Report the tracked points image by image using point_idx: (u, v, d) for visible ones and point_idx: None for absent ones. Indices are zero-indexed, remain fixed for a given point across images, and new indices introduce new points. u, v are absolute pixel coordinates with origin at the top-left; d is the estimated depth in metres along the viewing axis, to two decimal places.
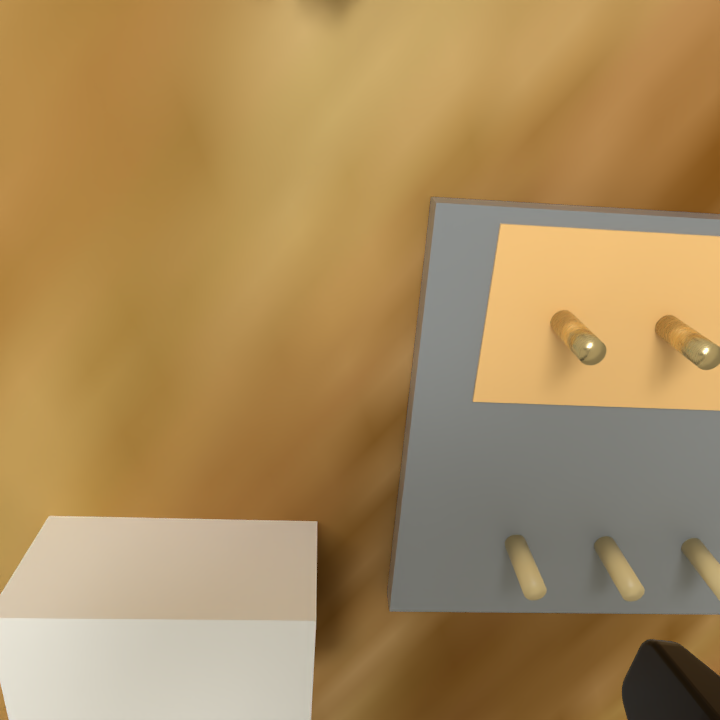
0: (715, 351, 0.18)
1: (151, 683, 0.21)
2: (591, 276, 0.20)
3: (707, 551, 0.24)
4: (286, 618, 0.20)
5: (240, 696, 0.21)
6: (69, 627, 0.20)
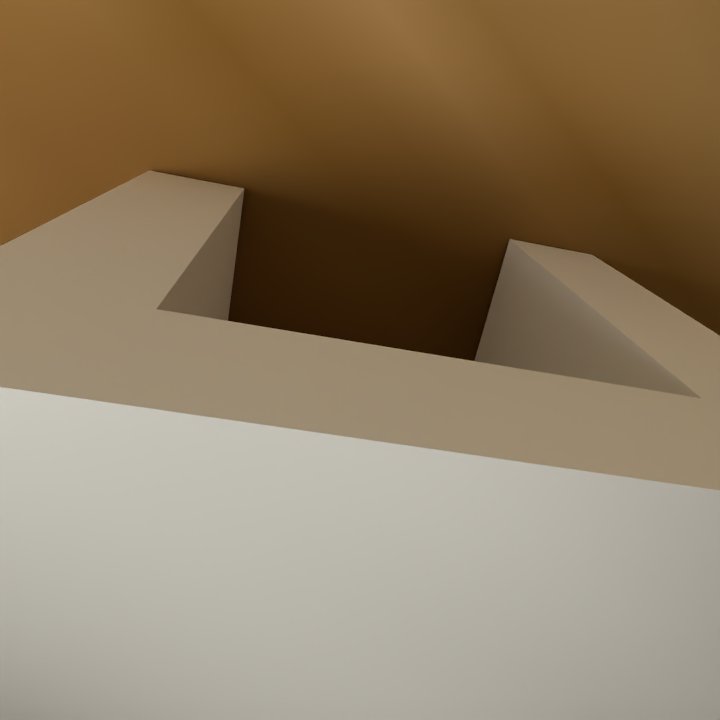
0: None
1: None
2: None
3: None
4: None
5: None
6: None
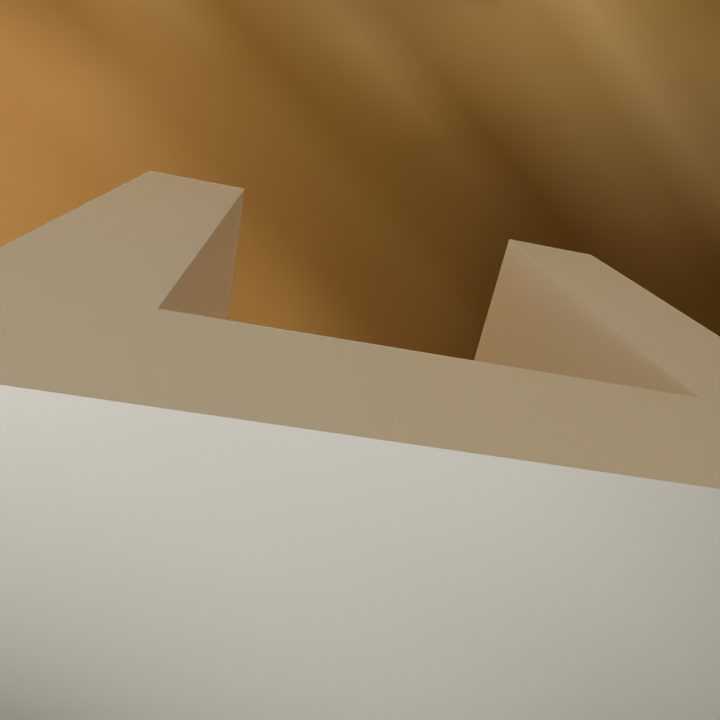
0: None
1: None
2: None
3: None
4: None
5: None
6: None
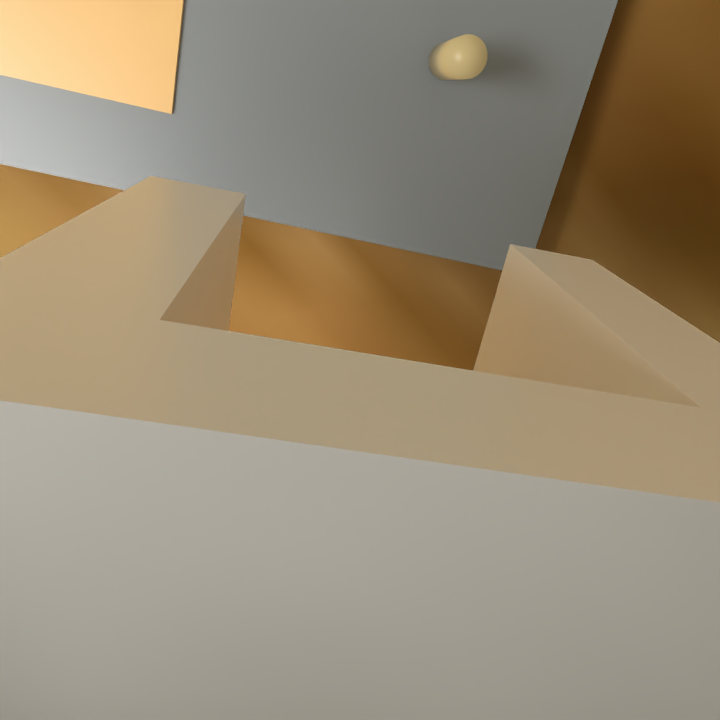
0: None
1: None
2: None
3: None
4: None
5: None
6: None
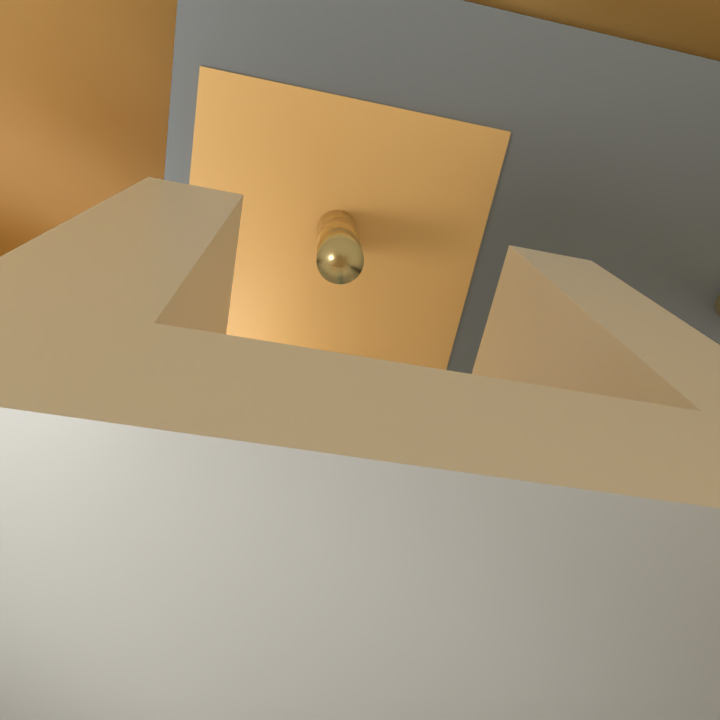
0: None
1: None
2: None
3: None
4: None
5: None
6: None
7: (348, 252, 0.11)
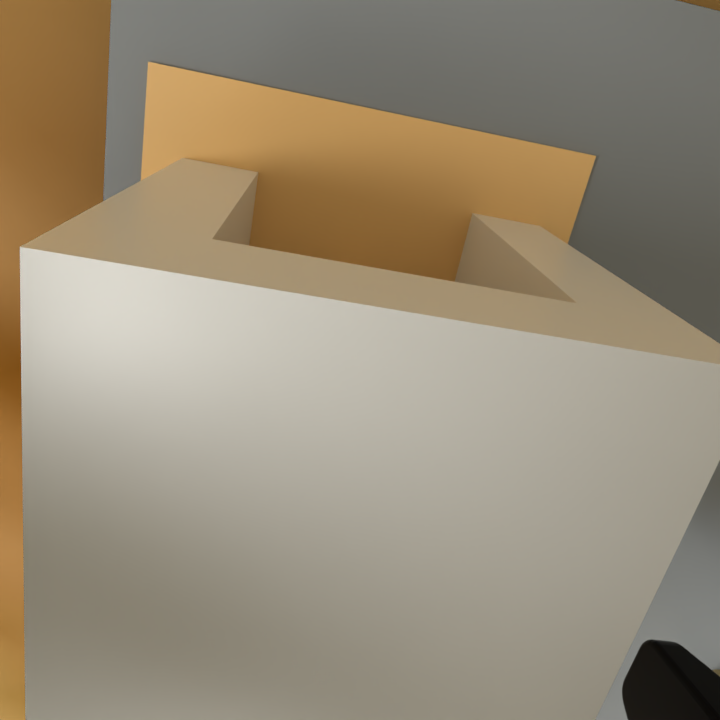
0: None
1: None
2: None
3: None
4: (31, 378, 0.04)
5: (459, 605, 0.05)
6: None
7: None
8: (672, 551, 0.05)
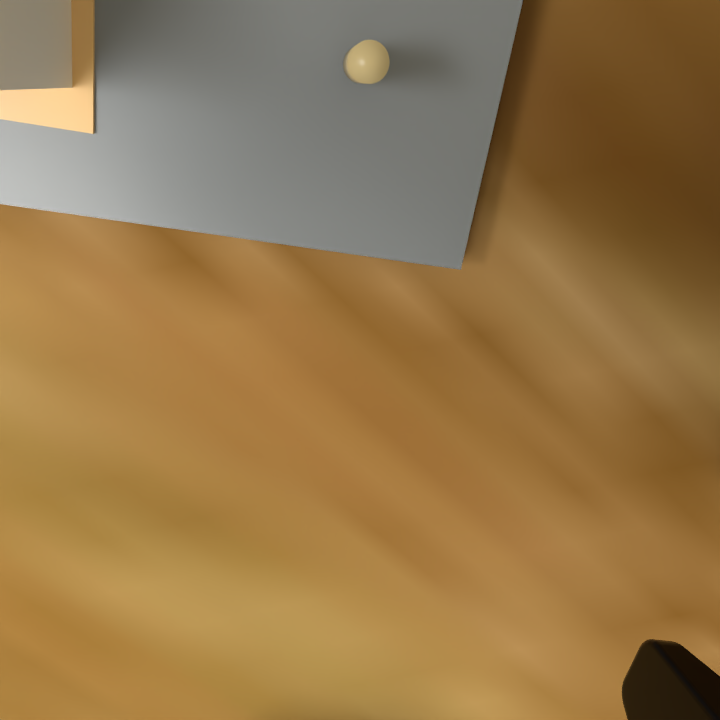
0: None
1: None
2: None
3: None
4: None
5: None
6: None
7: None
8: None
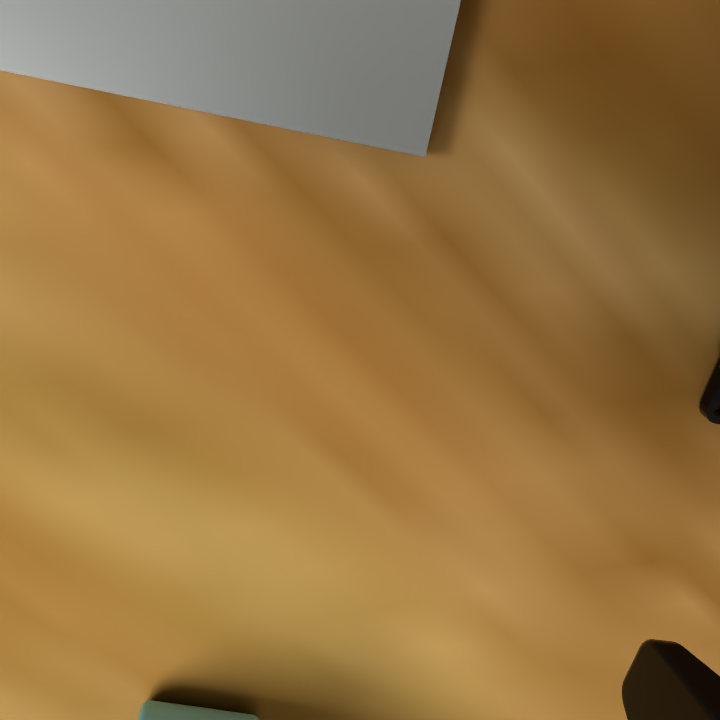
0: None
1: None
2: None
3: None
4: None
5: None
6: None
7: None
8: None
